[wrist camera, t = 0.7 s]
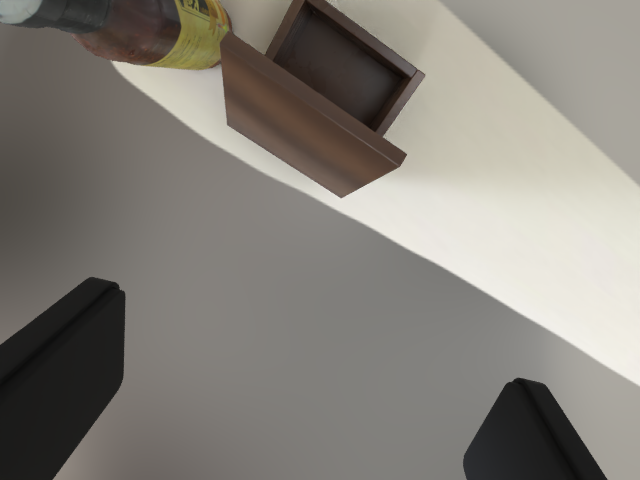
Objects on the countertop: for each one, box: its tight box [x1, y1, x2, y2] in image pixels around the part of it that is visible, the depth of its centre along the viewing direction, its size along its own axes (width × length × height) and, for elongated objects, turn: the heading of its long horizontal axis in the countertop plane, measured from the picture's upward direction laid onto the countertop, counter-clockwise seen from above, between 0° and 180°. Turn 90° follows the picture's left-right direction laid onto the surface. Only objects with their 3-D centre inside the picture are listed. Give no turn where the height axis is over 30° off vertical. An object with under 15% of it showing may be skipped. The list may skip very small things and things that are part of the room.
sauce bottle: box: [0, 0, 233, 70], centre depth 23 cm, size 7×6×20 cm
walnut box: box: [265, 0, 425, 137], centre depth 31 cm, size 10×10×7 cm
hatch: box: [219, 31, 407, 198], centre depth 24 cm, size 11×10×1 cm
